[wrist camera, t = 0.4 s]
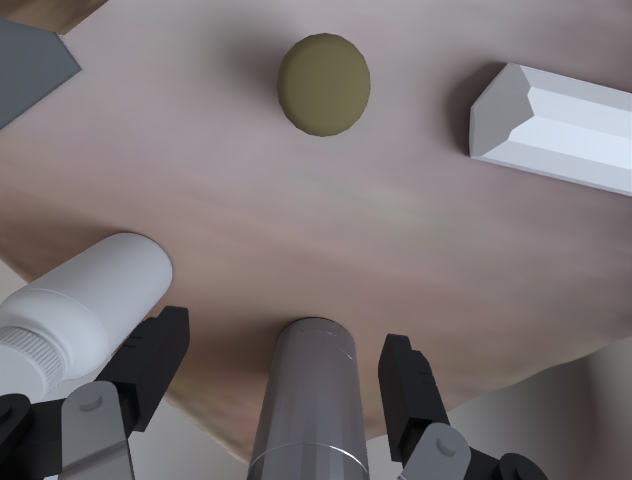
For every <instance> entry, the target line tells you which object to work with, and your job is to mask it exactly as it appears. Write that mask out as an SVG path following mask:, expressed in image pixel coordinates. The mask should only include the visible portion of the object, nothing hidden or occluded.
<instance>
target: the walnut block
mask: <svg viewBox="0 0 632 480" xmlns="http://www.w3.org/2000/svg"><path fill="white" fill-rule="evenodd" d="M107 1H108V0H0V18H1V19H5V20H9V21H12V22H16V23H20V24H24V25H28V26H32V27H36V28H39V29H43V30H47V31H51V32H55V33H59V34H63V35H65V34H66V33H67V32H69V31H70V30H71V29H72V28H74V27H75V26H76V25H78V24H79V23H80V22H81V21H83V20H84V19H85V18H87V17H88V16H89V15H90V14H92V13H93V12H94V11H95V10H97V9H98V8H99V7H101V6H102V5H103V4H104V3H106V2H107Z"/></svg>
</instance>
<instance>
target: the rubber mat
mask: <svg viewBox="0 0 632 480" xmlns="http://www.w3.org/2000/svg"><path fill="white" fill-rule="evenodd" d="M80 70H82V69H81V68H80V66H79V65H78V63H77V62H76V61H75V59H74V58H73V57H72V55H71V54H70V52H69V51H68V50H67V48H66V47H65V45H64V44H63V43H62V41H61V40H60V38H59V37H58V36H57V34H56V33H55V32H51V31H47V30H43V29H39V28H36V27H32V26H28V25H24V24H20V23H16V22H12V21H9V20H5V19H1V18H0V130H1V129H2V128H3V127H5V126H6V125H7V124H9V123H10V122H11V121H13V120H14V119H15V118H17V117H18V116H19V115H21V114H22V113H24V112H25V111H26V110H28V109H29V108H30V107H32V106H33V105H34V104H36V103H37V102H38V101H40V100H41V99H42V98H44V97H45V96H46V95H48V94H49V93H51V92H52V91H53V90H55V89H56V88H57V87H59V86H60V85H61V84H63V83H64V82H65V81H67V80H68V79H69V78H71V77H72V76H73V75H75V74H76V73H78V72H79V71H80Z"/></svg>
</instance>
